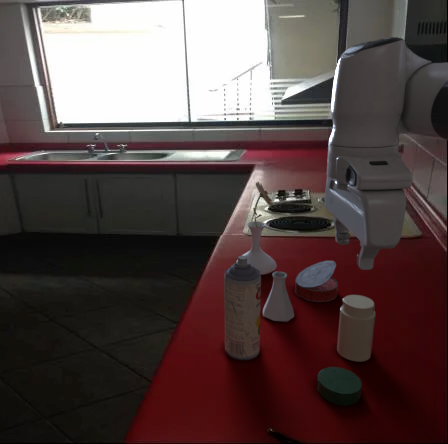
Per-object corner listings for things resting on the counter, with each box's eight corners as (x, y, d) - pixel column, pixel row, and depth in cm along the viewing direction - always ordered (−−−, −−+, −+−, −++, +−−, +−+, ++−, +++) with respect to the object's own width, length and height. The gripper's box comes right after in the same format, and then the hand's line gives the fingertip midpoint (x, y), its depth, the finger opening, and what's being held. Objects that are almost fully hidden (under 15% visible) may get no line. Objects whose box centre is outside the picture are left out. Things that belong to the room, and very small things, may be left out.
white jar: (367, 344, 83) (373, 294, 79) (373, 363, 77) (380, 310, 74) (334, 341, 84) (339, 292, 81) (339, 359, 79) (343, 308, 75)
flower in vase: (275, 280, 111) (278, 189, 104) (232, 277, 115) (232, 188, 107) (278, 261, 123) (280, 178, 115) (239, 258, 126) (239, 178, 119)
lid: (318, 402, 69) (319, 390, 68) (314, 375, 75) (315, 364, 74) (364, 408, 67) (365, 396, 66) (356, 380, 73) (357, 369, 72)
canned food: (327, 318, 101) (325, 294, 94) (288, 302, 107) (284, 278, 100) (347, 285, 105) (347, 259, 99) (309, 271, 112) (307, 246, 105)
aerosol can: (262, 359, 80) (264, 264, 74) (227, 360, 80) (226, 265, 74) (256, 339, 86) (257, 249, 80) (223, 340, 87) (222, 251, 81)
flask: (298, 310, 96) (300, 270, 93) (290, 325, 91) (292, 284, 87) (267, 303, 100) (268, 265, 97) (257, 318, 94) (258, 277, 91)
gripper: (317, 153, 69) (312, 232, 73) (364, 180, 50) (354, 285, 54) (357, 151, 68) (350, 231, 73) (420, 178, 49) (405, 284, 53)
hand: (352, 254), depth 63 cm, fingers open, 8 cm apart
